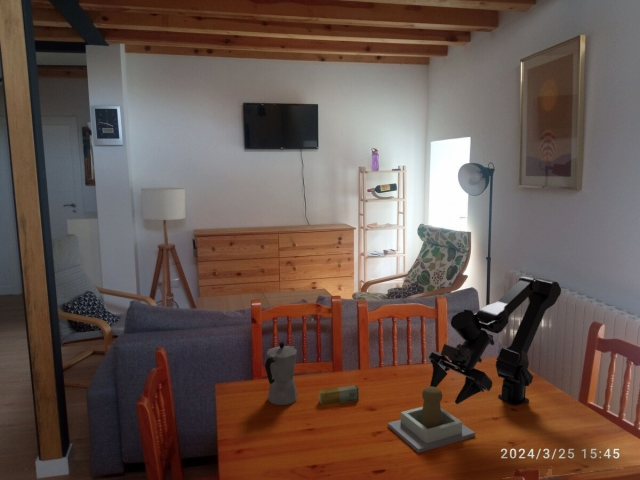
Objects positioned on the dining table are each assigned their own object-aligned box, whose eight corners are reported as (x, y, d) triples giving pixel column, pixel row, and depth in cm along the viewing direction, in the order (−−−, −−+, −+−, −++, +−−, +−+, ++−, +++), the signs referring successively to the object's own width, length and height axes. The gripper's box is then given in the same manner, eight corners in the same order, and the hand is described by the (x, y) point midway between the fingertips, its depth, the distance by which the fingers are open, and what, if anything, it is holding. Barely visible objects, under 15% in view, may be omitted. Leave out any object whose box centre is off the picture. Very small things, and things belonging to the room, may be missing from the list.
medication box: (356, 397, 151) (356, 384, 151) (359, 400, 149) (359, 388, 148) (318, 402, 148) (318, 389, 148) (321, 406, 146) (321, 393, 145)
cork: (437, 436, 127) (439, 396, 125) (415, 428, 130) (417, 389, 129) (446, 425, 132) (447, 387, 130) (424, 419, 135) (426, 381, 134)
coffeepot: (280, 386, 158) (279, 333, 156) (306, 392, 154) (305, 337, 151) (253, 407, 145) (252, 349, 142) (281, 414, 140) (279, 354, 138)
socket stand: (440, 412, 141) (441, 399, 141) (475, 436, 129) (475, 421, 128) (387, 426, 134) (387, 412, 133) (418, 453, 121) (418, 438, 121)
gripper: (433, 323, 140) (403, 369, 136) (486, 343, 125) (454, 395, 120) (452, 344, 145) (424, 389, 141) (505, 365, 130) (475, 416, 126)
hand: (443, 396), depth 132 cm, fingers open, 9 cm apart
